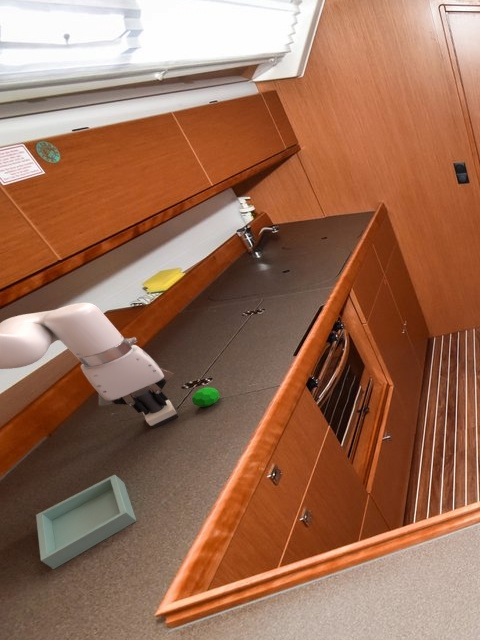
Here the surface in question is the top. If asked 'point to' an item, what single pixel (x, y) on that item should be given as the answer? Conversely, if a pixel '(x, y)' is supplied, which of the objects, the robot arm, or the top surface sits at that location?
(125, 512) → the tray
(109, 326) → the robot arm
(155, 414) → the brush
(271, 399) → the top surface
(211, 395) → the polyhedron
